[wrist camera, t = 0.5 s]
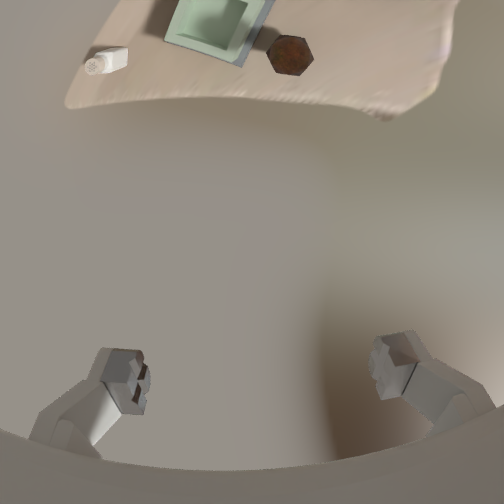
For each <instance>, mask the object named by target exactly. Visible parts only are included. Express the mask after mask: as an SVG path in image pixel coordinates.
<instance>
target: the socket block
mask: <svg viewBox="0 0 504 504" xmlns="http://www.w3.org/2000/svg"><path fill="white" fill-rule="evenodd" d="M264 3H265V0H179V3H178V5H177V7H176V10H175V12H174V15H173V17H172V20H171V23H170V25H169V28H168V31H167V33H166V36H165V39H164V41H168V42H171V43H175V44H178V45H181V46H185V47H188V48H191V49H194V50H197V51H200V52H203V53H206V54H209V55H212V56H215V57H218V58H221V59H223V60H226V61H229V62H231V63H232V62H233V61H235V60H236V59H237V58H238V56H239V54H240V52H241V50H242V48H243V45H244V43H245V41H246V39H247V37H248V35H249V33H250V31H251V29H252V27H253V25H254V23H255V21H256V19H257V17H258V15H259V13H260V11H261V9H262V7H263V5H264Z"/></svg>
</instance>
